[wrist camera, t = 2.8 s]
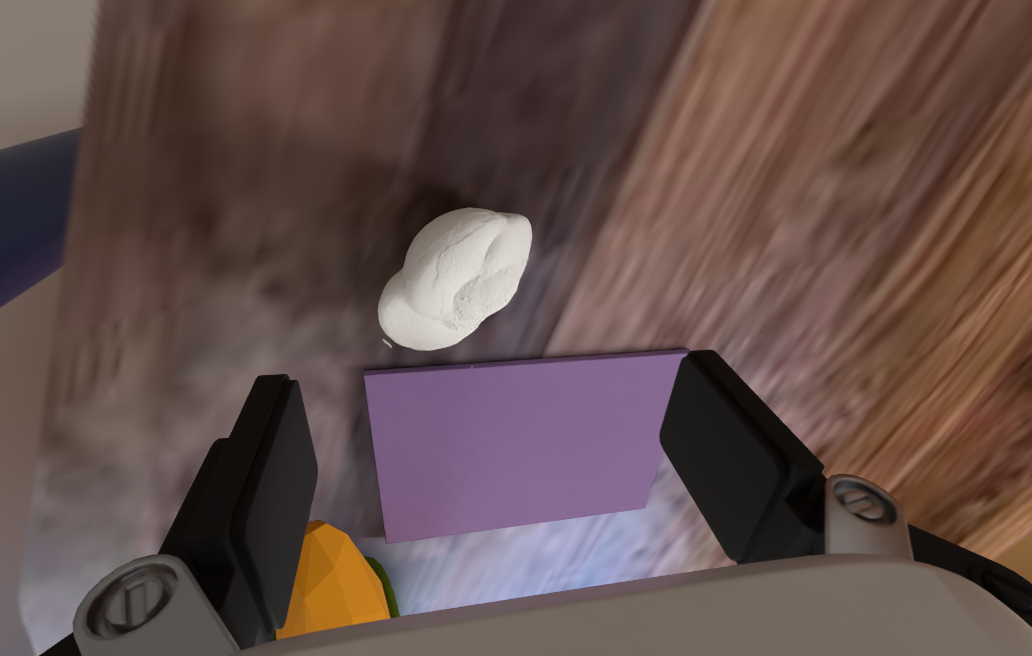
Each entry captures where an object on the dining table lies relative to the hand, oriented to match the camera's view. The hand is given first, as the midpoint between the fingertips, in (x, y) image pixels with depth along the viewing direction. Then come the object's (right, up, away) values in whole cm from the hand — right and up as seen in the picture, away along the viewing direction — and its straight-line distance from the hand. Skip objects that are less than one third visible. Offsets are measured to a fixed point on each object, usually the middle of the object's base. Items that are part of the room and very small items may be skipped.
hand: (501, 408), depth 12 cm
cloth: (+1, -5, +14) cm, 15 cm away
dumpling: (-2, +5, +8) cm, 9 cm away
